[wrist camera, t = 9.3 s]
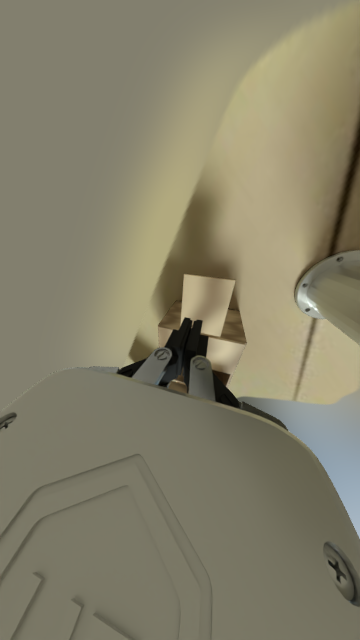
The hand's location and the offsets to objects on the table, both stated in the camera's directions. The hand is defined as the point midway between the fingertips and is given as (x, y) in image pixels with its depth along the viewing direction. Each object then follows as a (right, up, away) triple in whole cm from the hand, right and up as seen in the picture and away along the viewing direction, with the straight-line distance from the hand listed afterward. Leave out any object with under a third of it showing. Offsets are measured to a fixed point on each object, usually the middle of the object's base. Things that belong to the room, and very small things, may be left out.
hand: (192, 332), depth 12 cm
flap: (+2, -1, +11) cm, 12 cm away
